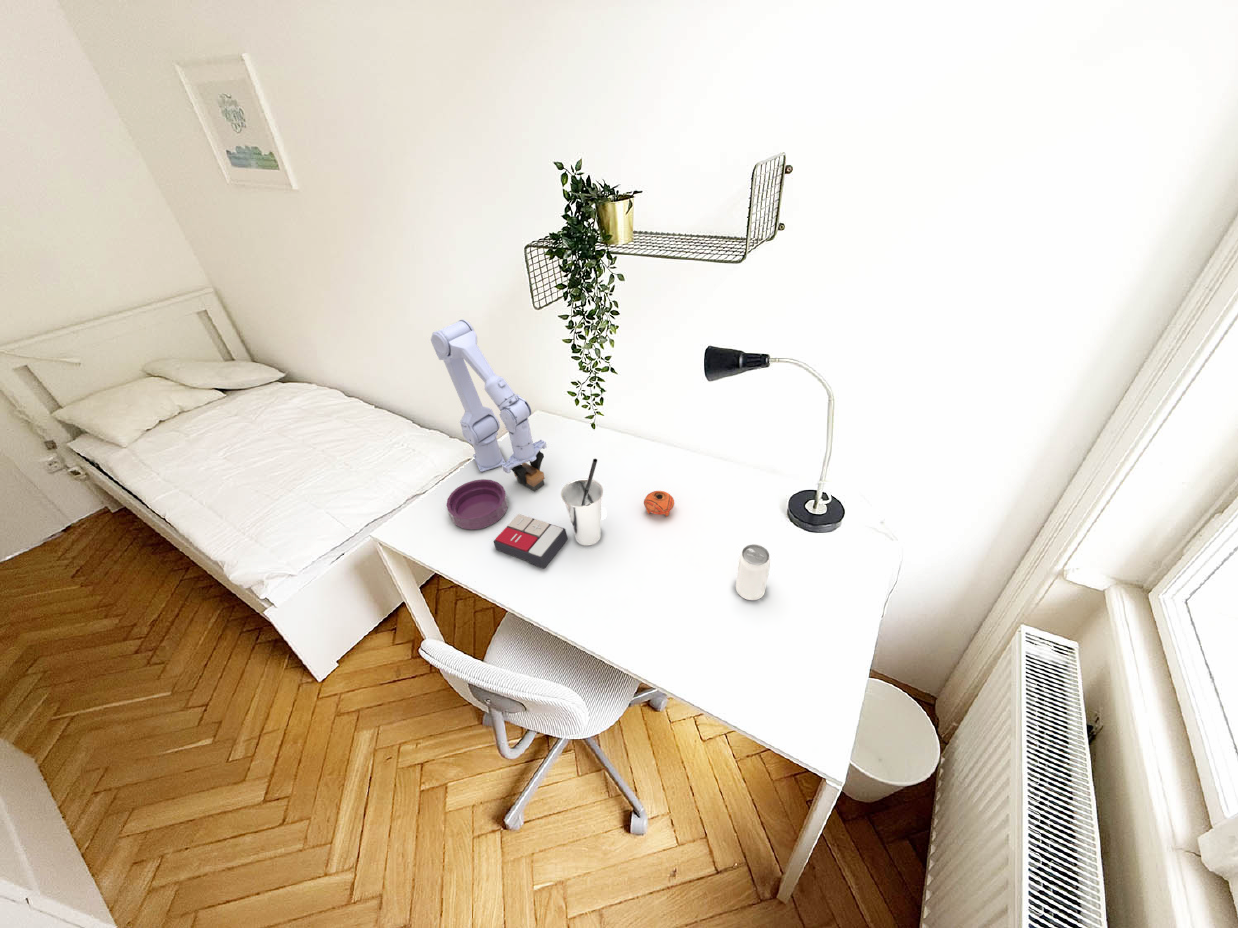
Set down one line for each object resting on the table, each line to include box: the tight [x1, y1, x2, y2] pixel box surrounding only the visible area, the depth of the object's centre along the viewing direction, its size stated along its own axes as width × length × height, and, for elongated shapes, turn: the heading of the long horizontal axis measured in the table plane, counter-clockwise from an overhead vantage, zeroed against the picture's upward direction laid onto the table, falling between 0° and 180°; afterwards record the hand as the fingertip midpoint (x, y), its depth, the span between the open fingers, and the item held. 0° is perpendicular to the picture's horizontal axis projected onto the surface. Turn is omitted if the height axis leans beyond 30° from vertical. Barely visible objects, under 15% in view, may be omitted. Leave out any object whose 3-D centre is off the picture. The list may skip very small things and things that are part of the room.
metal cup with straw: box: [560, 458, 604, 547], centre depth 125 cm, size 11×11×30 cm
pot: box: [643, 490, 675, 517], centre depth 139 cm, size 8×8×7 cm
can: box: [735, 543, 771, 601], centre depth 115 cm, size 6×6×12 cm
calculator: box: [493, 513, 568, 569], centre depth 133 cm, size 11×4×15 cm
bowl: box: [446, 478, 509, 530], centre depth 144 cm, size 16×16×4 cm
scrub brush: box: [513, 462, 546, 493], centre depth 151 cm, size 8×4×6 cm, turn 50°
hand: (529, 478), depth 151 cm, fingers closed on scrub brush, 4 cm apart
